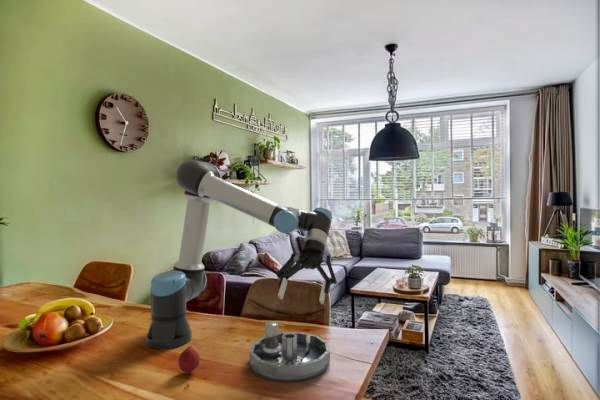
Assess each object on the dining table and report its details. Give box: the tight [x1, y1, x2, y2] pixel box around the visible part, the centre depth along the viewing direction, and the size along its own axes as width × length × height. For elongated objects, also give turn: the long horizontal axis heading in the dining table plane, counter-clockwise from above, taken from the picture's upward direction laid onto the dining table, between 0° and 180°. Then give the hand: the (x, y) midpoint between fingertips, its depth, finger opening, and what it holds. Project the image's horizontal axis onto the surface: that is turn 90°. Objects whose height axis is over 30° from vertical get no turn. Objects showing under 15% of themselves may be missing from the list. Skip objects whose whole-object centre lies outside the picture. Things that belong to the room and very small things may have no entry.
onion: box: [177, 344, 200, 374], centre depth 103 cm, size 6×6×8 cm
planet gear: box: [277, 333, 303, 364], centre depth 103 cm, size 8×8×9 cm
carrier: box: [249, 321, 331, 383], centre depth 109 cm, size 24×24×10 cm
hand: (300, 299), depth 111 cm, fingers open, 13 cm apart
